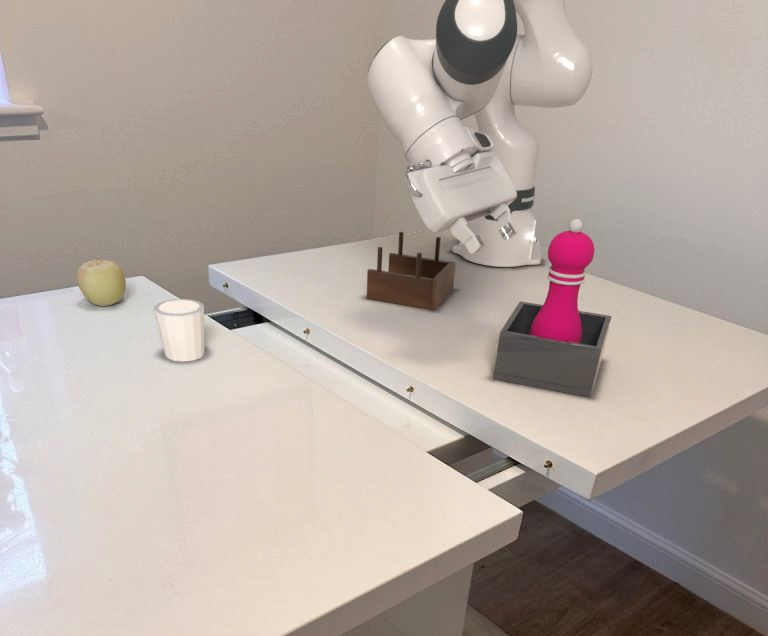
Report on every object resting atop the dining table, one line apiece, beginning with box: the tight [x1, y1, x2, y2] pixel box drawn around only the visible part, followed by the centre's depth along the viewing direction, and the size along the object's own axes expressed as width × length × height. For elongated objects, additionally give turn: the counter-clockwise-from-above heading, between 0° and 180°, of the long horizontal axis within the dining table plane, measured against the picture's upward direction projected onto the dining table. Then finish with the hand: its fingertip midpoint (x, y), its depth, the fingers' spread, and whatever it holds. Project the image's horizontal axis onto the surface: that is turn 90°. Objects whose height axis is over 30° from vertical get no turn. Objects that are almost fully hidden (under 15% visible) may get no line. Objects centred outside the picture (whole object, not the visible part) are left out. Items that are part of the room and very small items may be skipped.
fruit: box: [76, 254, 127, 307], centre depth 117 cm, size 8×7×8 cm
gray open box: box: [493, 301, 612, 398], centre depth 103 cm, size 14×14×7 cm
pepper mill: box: [529, 218, 595, 343], centre depth 99 cm, size 7×7×20 cm
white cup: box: [153, 298, 206, 362], centre depth 102 cm, size 7×7×7 cm
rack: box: [366, 231, 457, 311], centre depth 127 cm, size 12×12×9 cm
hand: (495, 243), depth 101 cm, fingers open, 8 cm apart
